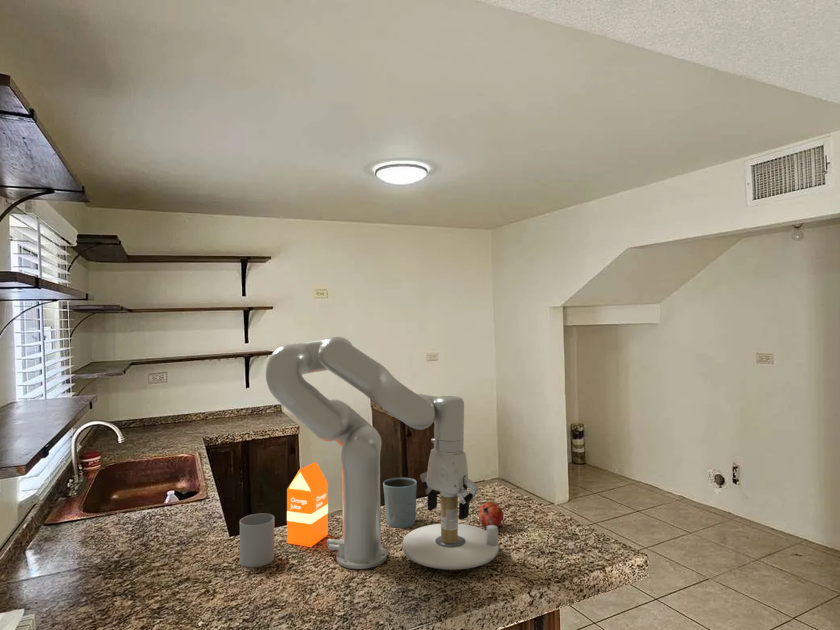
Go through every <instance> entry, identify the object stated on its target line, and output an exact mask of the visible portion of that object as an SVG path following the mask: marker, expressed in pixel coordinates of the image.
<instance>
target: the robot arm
mask: <svg viewBox="0 0 840 630" xmlns="http://www.w3.org/2000/svg"><path fill="white" fill-rule="evenodd" d="M324 371H330V373H332V374H333V375H336V376H337V377H338V378H340V379H341V380H342V381H344V382H346V383H347V384H349V385H351V386H352V387H354V388H355V389H357V391H360V393H362V394H364V395H365V396H366V397H367V398H368V399H370V400H371V401H373V402H374V403H375V404H377V405H378V406H379V407H381V408H382V409H383V410H385V412H387V413H389V414H390V415H391V416H393V417H395V418H396V419H398V420H399V421H401V422H403V424H405V425H407V426H409V427H410V428H412V429H415V430H425V429H428V428H429V427H430V426H431V425H432V424H433V425H434V429H433V431H434V432H433V434H434V435H433V438H431V439H430V443H431V444H433V448H432V449H431V450H430V454H429V458H428V465H427V471H424V472H423V473H421V474H420V475H419V477H420V480H421V482H422V487H423V488H424V489H425V494H426V495H427V511H432V510H434V509H437V508H438V492H439V493H440V492H443V493H447V494H451V495H457V496H458V497H457V498H458V499H459V501H460V502H459V504H458V520H460V521H462V520H464V519H467V518H468V517H469V514H470V512H469V511H470V502H471V501H472V499H474V498H475V497H476V494H477V492H478V490H479V486H478V485H477V484H476V483H474V482H473V481H472V479H470V478H469V469H468V460H467V455H466V452H465V451H464V437H465V436H464V431H465V429H464V427H465V425H464V424H465V402H464V399H463V398H462V397H460V396H457V395H456V396H454V395H442V396H433V395H428V394H421V393H420V394H417V393H416V392H414V391H413V390H411V389H410V388H409V387H407V386H405V384H403V383H401V381H399V380H398V379H397V378H395V376H394V375H392V374H391V372H390V371H389V370H388V369H387V368H386V367H385V366H384V365H383V364H381V363H380V362H379V361H377V360H375V359H373V358H372V357H370V356H369V355H367V354H365V353H364V352H363V351H362V350H360V349H358V348H357V347H355V346H354V345H353V344H352V343H351V341H349V340H348V339H347V338H345V337H342V336H332V337H328V338H326V339H325V338H324V339H319V340H313V341H307V342H299V343H292V344H291V343H290V344H285V345H282V346H280V347H277V348H276V349H275V350H274V351H273V352H272V353H271V354H270V356H269V358H268V360H267V364H266V368H265V379H266V380H265V381H266V384H267V386H268V389H269V392H270V393H271V394H272V396H273V397H274V398H275V400H276V401H277V402H279V403H280V405H282V407H284V408H285V409H286V410H287V411H288V412H289V413H291V414H292V415H293V416H294V417H295V418H296V419H297V420H298V421H300V422H301V423H302V424H303V425H304V426H305V427H306V428H307V429H308V430H310V432H312V433H313V434H314V435H315V436H316V437H317V438H318V439H320V440H321V441H324V442H334V441H335V442H336V443H337V444H338V445H339V446H341V447H342V448H341V451H340V465H341V466H340V467H341V468H340V469H341V485H342V486H341V487H342V488H341V490H342V491H341V492H342V495H341V498H342V537H340V538H339V539H336V538H328V539H327V540H326V546H327V547H328V550H329V551H337V553H336V562H337V563H338V564H339V566H342V567H344V568H346V569H352V570H367V569H372V568H375V567H377V566H380V565H381V564H383V563H385V562H386V561H387V558H388V557H387V556H388V553H387V550H386V549H385V548H384V547H383V546H382V544H381V543H382V542H381V540H382V537H381V536H382V535H381V534H382V533H381V531H382V530H381V529H382V528H381V527H382V526H381V525H382V524H381V523H382V521H381V518H382V517H381V452H382V451H381V450H382V438H381V435H380V434H379V432H378V430H377V429H376V428H375V427H374V426H373V425H371V423H369V422H368V421H367V420H366V419H365V418H363V417H362V416H361V415H360V414H359V413H358V412H357V411H356V410H355V409H353V408H352V407H351V406H349V404H347V403H345V402H344V401H342V400H339V399H329V398H327V397H326V396H325V395H324V394H323V393H321V392H320V391H319V390H318V389H317V388H316V387H315V386H314V385H312V384H311V383H309V382H308V381H307V380H306V379H305V378H304V376H303V375H305V374H312V373H317V372H324ZM468 488H469V491H468Z"/></svg>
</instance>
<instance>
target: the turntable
mask: <svg viewBox="0 0 840 630" xmlns="http://www.w3.org/2000/svg"><path fill="white" fill-rule="evenodd" d="M485 528H486V529H484V528H481V527H477V526H474V525H470V524H463V523H458V541H457V542H456V543H444V542H442V541H441V523H434V524H428V525H425V526H420V527H418V528H415V529H413V530H411V531H410V532H408V533H407V534H406V535H405V536H404V538H403V540H402V551H403V553H404V555H405V556H406V558H408V559H409V560H411V561H412V562H414V563H416V564H418V565H421V566H424V567H427V568H432V569H439V570H463V569H464V570H465V569H466V570H467V569H473V568H476V567H480V566H484V565H486V564H488V563H490V562H492V561H493V560H494V559H495V558H496V557H497V556H498V554H499V530H498V529H499V527H497V526H494V525H489V526H487V527H485Z"/></svg>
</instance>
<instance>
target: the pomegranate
mask: <svg viewBox="0 0 840 630" xmlns="http://www.w3.org/2000/svg"><path fill="white" fill-rule="evenodd" d="M504 516H505V515H504V511H503V509H502V508H501V507H500V505H499V504H498V503H497V502H495V501H488V502H487V501H486V503H485V504H482V505H480V507H479V512H478V520H479V522H480V524H481V525H482V526H483V527H484V528H486V527H487V526H489V525H494V526H497V527H498V528H500V526H501V522H502V521H504V518H505V517H504Z"/></svg>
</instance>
